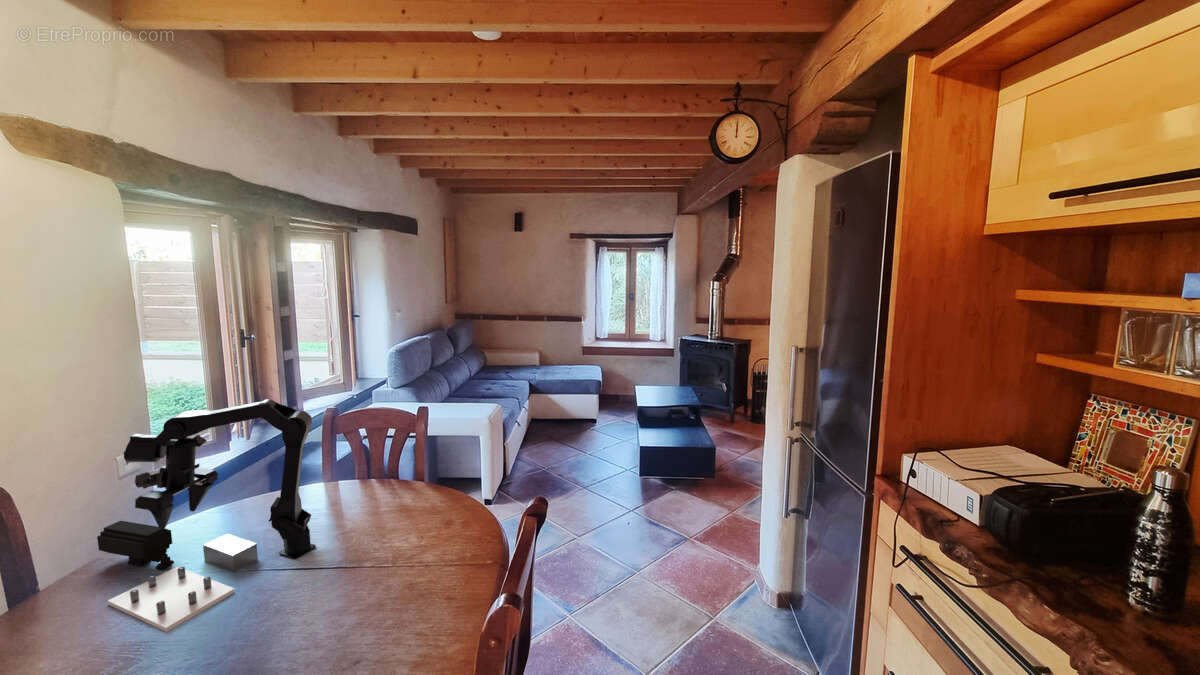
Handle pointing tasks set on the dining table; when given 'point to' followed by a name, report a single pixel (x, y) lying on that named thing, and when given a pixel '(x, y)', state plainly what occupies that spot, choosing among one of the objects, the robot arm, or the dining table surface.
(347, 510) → the dining table surface
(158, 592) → the white peg board
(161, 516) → the robot arm
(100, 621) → the dining table surface
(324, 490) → the dining table surface
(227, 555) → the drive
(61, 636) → the dining table surface
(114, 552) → the security camera
